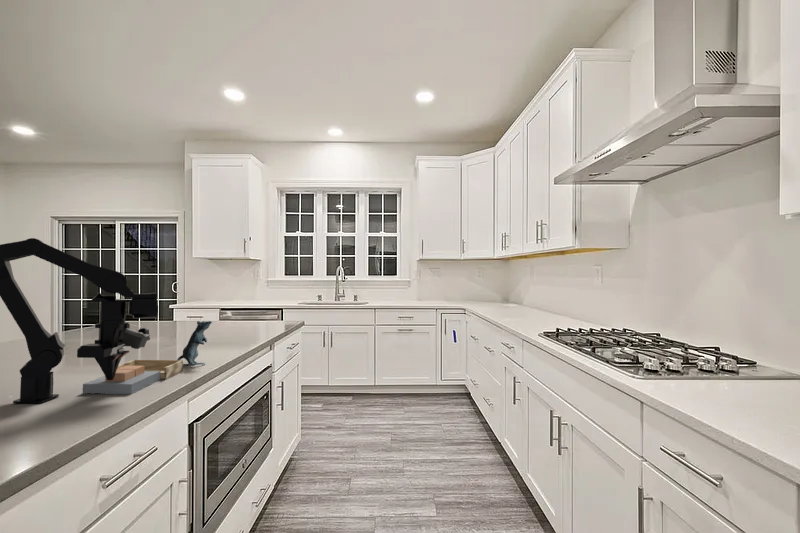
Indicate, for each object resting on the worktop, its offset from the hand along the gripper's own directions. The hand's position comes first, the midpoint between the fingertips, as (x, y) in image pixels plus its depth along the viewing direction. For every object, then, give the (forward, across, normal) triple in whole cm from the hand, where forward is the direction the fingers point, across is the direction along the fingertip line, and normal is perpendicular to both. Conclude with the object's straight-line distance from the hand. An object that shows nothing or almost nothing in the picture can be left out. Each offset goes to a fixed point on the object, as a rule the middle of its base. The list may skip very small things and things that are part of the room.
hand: (110, 379), depth 117 cm
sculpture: (+4, +38, -7) cm, 39 cm away
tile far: (+1, +10, 0) cm, 10 cm away
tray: (+3, +21, 0) cm, 21 cm away
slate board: (+3, +7, 0) cm, 8 cm away
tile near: (+1, +5, 0) cm, 5 cm away
